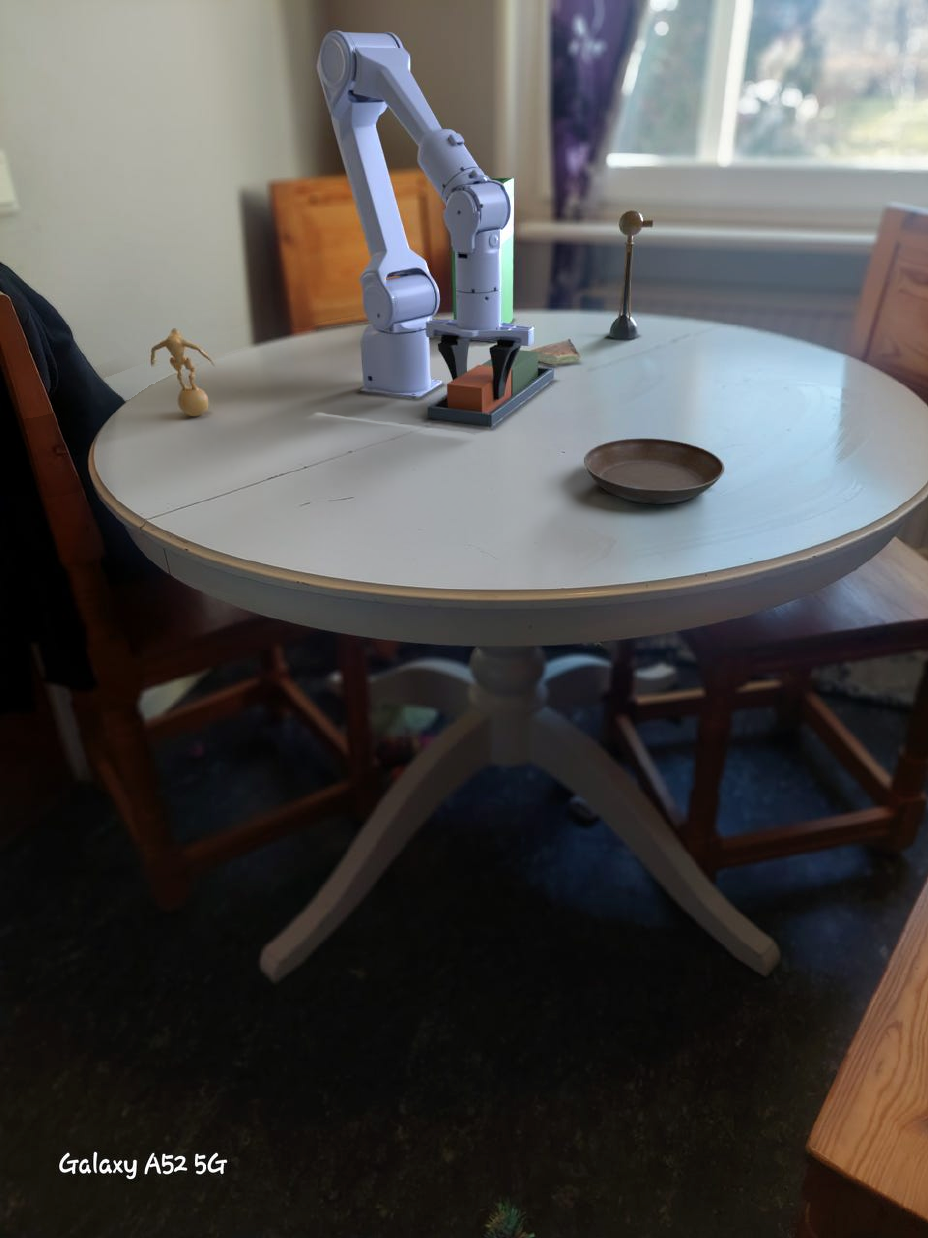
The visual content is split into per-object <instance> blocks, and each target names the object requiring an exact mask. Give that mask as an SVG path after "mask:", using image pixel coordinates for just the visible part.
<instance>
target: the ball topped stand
mask: <svg viewBox="0 0 928 1238" xmlns="http://www.w3.org/2000/svg"><path fill="white" fill-rule="evenodd" d="M653 226H654V220H653V219H651V220H650V219H643V217H642V214H641V213H639V212H638V211H637V210H632V209H631V210H628V211H626V212H624V213H623V214H622V215H621V216H620V218H619V222H618V228H619V231H620V232H621V234H622V235H624V236H626V237H627V242H624V245H625V254H624V266H623V267H624V269H623V281H622V290H621V298H620V305H619V309H618V316H617V318H616V319H614V321H613V322H612V323H611V325H610V328H609V332H608V334H609V335H608V337H609V338H610V339H616V340H632V339H636V338H637V337H638V325H637V323H636V322H635V320H634V319H633V318H632V312H631V311H632V309H631V285H632V267H633V252H634V245H635V243H636V242H633V238H634V237H633V236H637V235H638V234H639V233H640V232H641V231H642V229H643V228H653Z"/></svg>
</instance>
